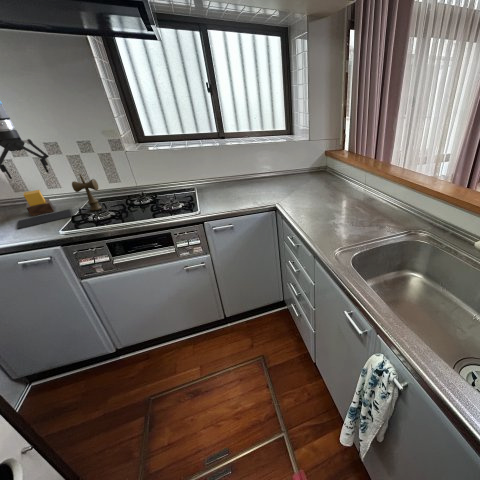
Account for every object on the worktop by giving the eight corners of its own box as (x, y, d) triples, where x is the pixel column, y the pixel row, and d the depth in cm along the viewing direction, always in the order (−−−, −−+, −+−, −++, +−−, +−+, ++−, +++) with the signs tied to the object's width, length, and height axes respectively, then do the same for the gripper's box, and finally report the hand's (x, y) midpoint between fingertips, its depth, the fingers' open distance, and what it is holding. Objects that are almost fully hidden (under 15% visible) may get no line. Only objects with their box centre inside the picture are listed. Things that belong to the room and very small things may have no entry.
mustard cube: (30, 206, 139) (23, 195, 136) (30, 203, 142) (23, 192, 139) (45, 203, 142) (39, 192, 139) (45, 200, 146) (39, 189, 143)
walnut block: (31, 216, 139) (25, 207, 137) (31, 211, 145) (26, 203, 143) (54, 211, 145) (49, 203, 142) (53, 206, 150) (48, 198, 148)
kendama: (105, 210, 145) (89, 174, 135) (84, 213, 142) (65, 176, 132) (108, 206, 150) (92, 171, 140) (87, 209, 147) (70, 173, 137)
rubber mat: (17, 229, 127) (17, 228, 127) (19, 221, 134) (18, 220, 134) (71, 216, 138) (71, 215, 138) (69, 210, 146) (69, 209, 146)
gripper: (-37, 134, 113) (-6, 182, 124) (41, 127, 130) (63, 171, 140) (-37, 132, 117) (-7, 179, 128) (39, 126, 134) (60, 168, 145)
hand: (29, 175), depth 134 cm, fingers open, 13 cm apart
